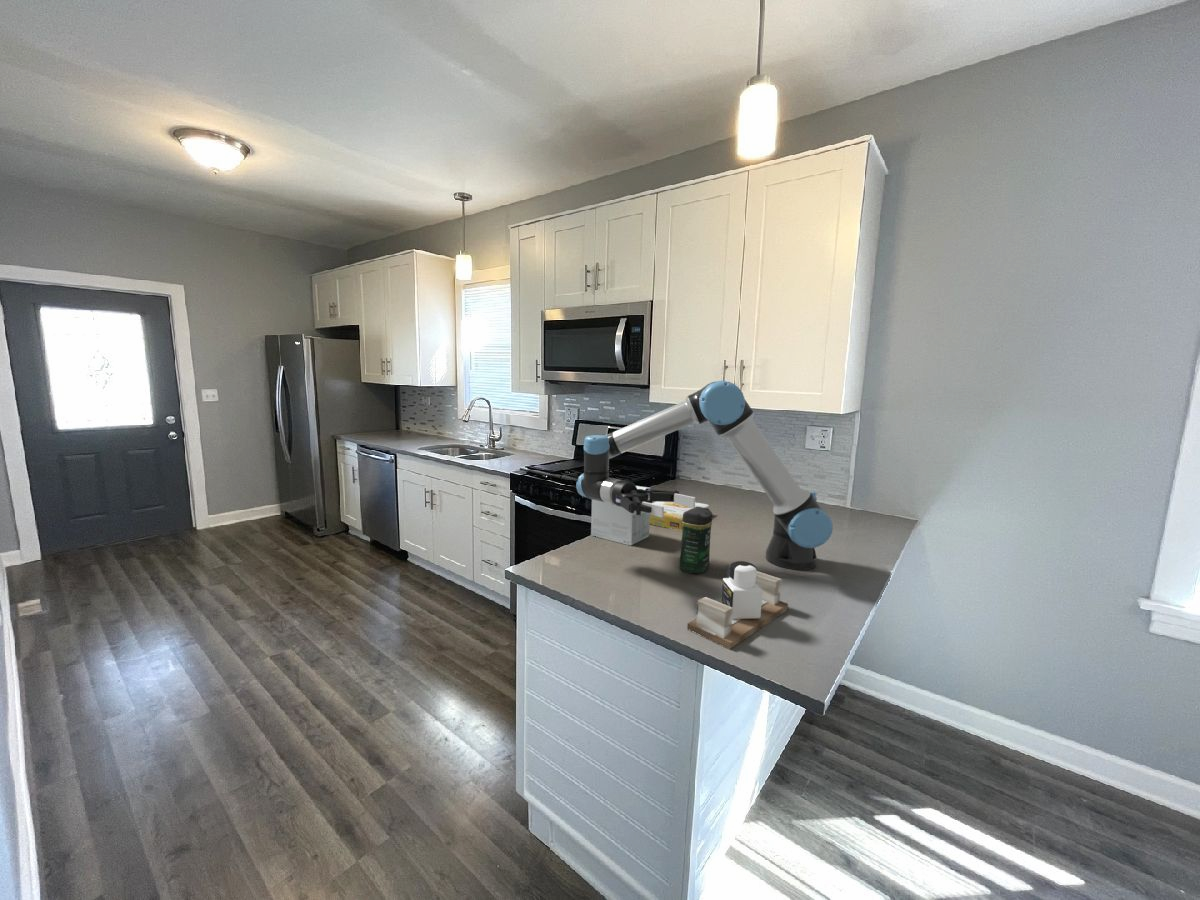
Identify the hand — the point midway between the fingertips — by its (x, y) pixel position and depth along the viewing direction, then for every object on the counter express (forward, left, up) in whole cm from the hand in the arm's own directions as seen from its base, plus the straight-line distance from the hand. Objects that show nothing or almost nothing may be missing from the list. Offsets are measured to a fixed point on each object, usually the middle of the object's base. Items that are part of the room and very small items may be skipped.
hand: (679, 507), depth 124 cm
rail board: (-11, +15, -24) cm, 30 cm away
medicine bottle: (-11, +15, -22) cm, 29 cm away
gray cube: (-21, -6, -24) cm, 32 cm away
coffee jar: (-11, -16, -24) cm, 31 cm away
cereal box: (-21, -68, -24) cm, 75 cm away
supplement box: (+5, -47, -24) cm, 53 cm away
